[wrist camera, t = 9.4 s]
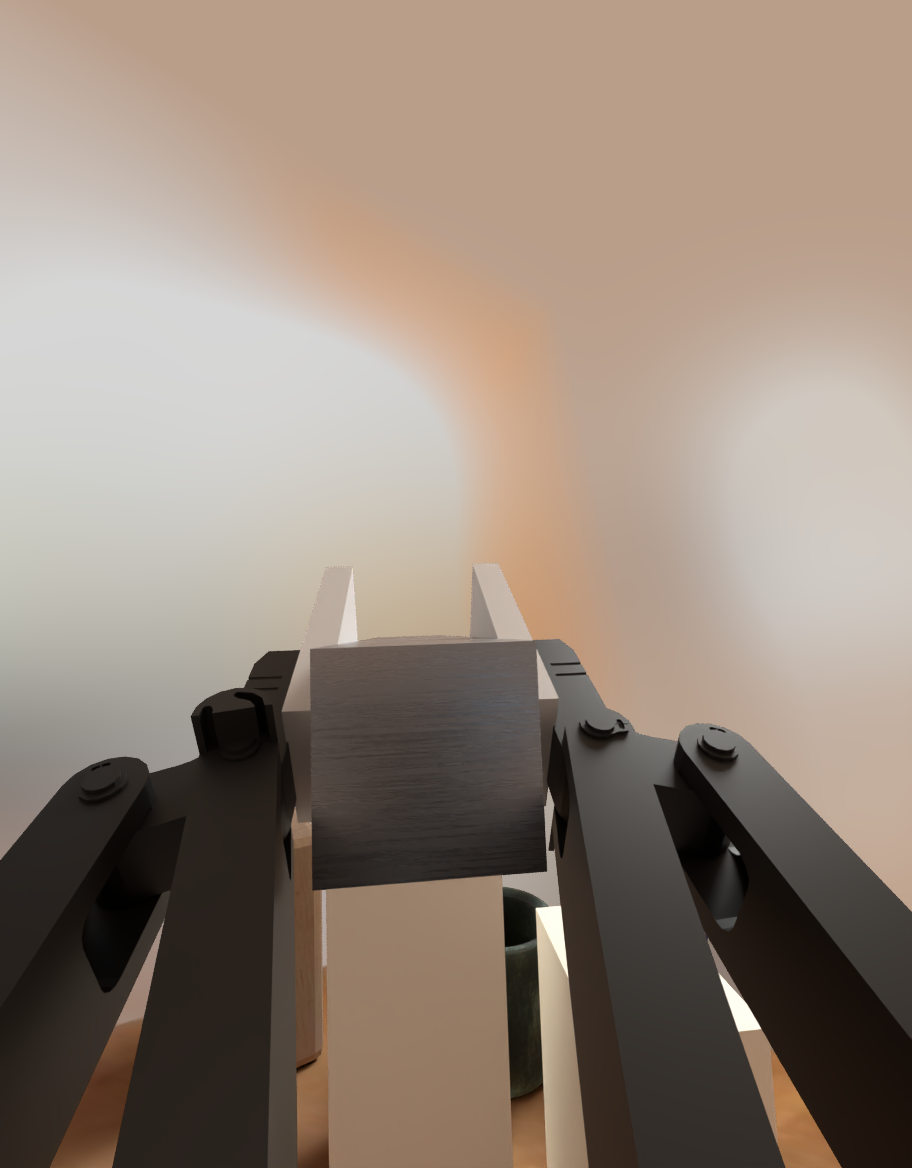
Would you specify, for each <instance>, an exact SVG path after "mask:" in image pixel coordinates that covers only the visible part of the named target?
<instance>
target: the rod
mask: <svg viewBox="0 0 912 1168" xmlns="http://www.w3.org/2000/svg"><path fill="white" fill-rule="evenodd" d="M310 710H311V809H312V891H315V890H327V889H339V888H351V887H364V886H376V885H388V884H400V883H412V882H425V881H437V880H449V879H461V878H473V877H486V876H498V875H510V874H522V873H534V872H546V871H547V859H546V840H545V839H546V838H545V818H544V796H543V775H542V755H541V734H540V713H539V692H538V671H537V650H536V641H535V640H516V639H497V638H479V637H461V636H443V635H438V636H410V637H383V638H374V639H367V640H361V641H355V642H349V643H343V644H337V645H331V646H325V647H319V648H313V649H310Z"/></svg>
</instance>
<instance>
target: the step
mask: <svg viewBox="0 0 912 1168" xmlns="http://www.w3.org/2000/svg"><path fill="white" fill-rule="evenodd" d="M536 926H537V949H538V972H539V995H540V1018H541V1040H542V1063H543V1086H544V1109H545V1132H546V1155H547V1168H589V1166H588V1157H587V1147H586V1138H585V1129H584V1119H583V1110H582V1100H581V1091H580V1082H579V1072H578V1063H577V1054H576V1044H575V1035H574V1025H573V1016H572V1007H571V997H570V988H569V979H568V969H567V960H566V950H565V941H564V932H563V922H562V913H561V906H556V907H543V908H536ZM718 974H719V973H718ZM719 976H720V974H719ZM720 979H721V982H722V985H723V988H724V991H725V994H726V997H727V1000H728V1003H729V1005H730V1008H731V1011H732V1014H733V1017H734V1020H735V1023H736V1026H737V1029H738V1032H739V1034H740V1037H741V1040H742V1043H743V1046H744V1049H745V1052H746V1055H747V1058H748V1061H749V1064H750V1066H751V1069H752V1072H753V1075H754V1078H755V1081H756V1084H757V1087H758V1090H759V1093H760V1095H761V1098H762V1101H763V1104H764V1107H765V1110H766V1113H767V1116H768V1119H769V1122H770V1124H771V1127H772V1130H773V1133H774V1136H775V1139H776V1142H777V1145H778V1139H777V1127H776V1114H775V1101H774V1089H773V1076H772V1063H771V1051H770V1043H769V1041H768V1040H767V1038H766V1036H765V1034H764V1033H763V1031H762V1029H761V1028H760V1026H759V1024H758V1022H757V1021H756V1019H755V1017H754V1016H753V1014H752V1012H751V1010H750V1009H749V1007H748V1005H747V1004H746V1003H745V1002H744V1001H743V1000H742V998H741V997H740V996H739V995H738V994H737V993H736V992H735V991H734V990H733V989H732V988H731V986H730V985H729V984H728V983H727V982H726V981H725V980H724V979H723V978H722V976H720Z"/></svg>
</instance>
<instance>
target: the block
mask: <svg viewBox="0 0 912 1168" xmlns="http://www.w3.org/2000/svg"><path fill="white" fill-rule="evenodd" d="M291 828H292V835H293V841H294V912H295V998H296V1068H297V1067H300V1066H302V1065H304V1064H306V1063H309V1062H311V1061H313V1060H315V1059H316V1058H317V1057H318V1056H319V1055H320V1054H321V1051H322V1046H323V985H322V890H315V891H312V825H311V824H310V823H309V822H306V823H298V821H297V814H296V809H294V814H293V818H292V823H291Z"/></svg>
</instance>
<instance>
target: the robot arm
mask: <svg viewBox="0 0 912 1168" xmlns="http://www.w3.org/2000/svg"><path fill="white" fill-rule="evenodd" d="M472 574H473V575H472V602H471V631H470V637H479V638H497V639H516V640H532V638H531V635H530V633H529V631H528V629H527V626H526V624H525V622H524V620H523V618H522V615H521V613H520V611H519V609H518V606H517V604H516V602H515V600H514V598H513V596H512V593H511V591H510V589H509V587H508V584H507V582H506V580H505V578H504V575H503V573H502V571H501V569H500V567H499V564H498V563H492V564H490V563H489V564H473V573H472ZM355 611H356V610H355V595H354V580H353V567H326V568H325V572H324V575H323V578H322V581H321V585H320V588H319V591H318V595H317V598H316V601H315V604H314V607H313V611H312V614H311V617H310V620H309V624H308V627H307V630H306V633H305V637H304V640H303V643H302V647H301V650H294V651H270V652H268V653H266V654H265V655H264V656H263V657H262V658H261V659H260V660H259V661H257V662H256V663H255V664H254V667H253V669H252V671H251V673H250V675H249V680H247V682H246V685H245V687H244V688H234V689H230V690H227V691H222V692H219V693H217V694H215V695H213V696H211V697H209V698H207V699H205V700H204V701H203V702H202V703H200V704H199V705H198V706H197V707H196V708H195V710H194V712H193V713H192V715H191V720H192V724H193V728H194V732H195V736H196V741H197V745H198V749H199V754H200V755H199V757H198V758H196V759H194V760H192V761H190V762H187V763H184V764H182V765H179V766H175V767H171V768H168V769H164V770H160V771H157V772H153V773H149V770H148V767H147V764H145V763H144V762H143V761H141V760H140V759H138V758H131V757H118V758H111V759H107V760H104V761H101V762H98V763H96V764H92V765H90V766H88V767H87V768H85V769H83V770H81V771H80V772H78V773H76V774H75V775H74V776H72V777H71V778H70V779H69V780H68V781H67V782H66V783H65V784H64V785H63V786H62V787H61V788H60V789H59V790H58V792H57V793H56V794H55V795H54V796H53V798H52V799H51V800H50V801H49V802H48V804H47V805H46V806H45V807H44V809H43V810H42V811H41V812H40V813H39V814H38V816H37V817H36V818H35V819H34V820H33V822H32V823H31V824H30V825H29V826H28V828H27V829H26V830H25V831H24V832H23V834H22V835H21V836H20V837H19V839H18V840H17V841H16V842H15V843H14V845H13V846H12V847H11V848H10V849H9V851H8V852H7V853H6V854H5V855H4V857H3V858H2V859H1V860H0V1168H49V1167H50V1165H51V1163H52V1161H53V1159H54V1156H55V1154H56V1152H57V1150H58V1148H59V1146H60V1143H61V1141H62V1139H63V1137H64V1135H65V1133H66V1130H67V1128H68V1126H69V1124H70V1122H71V1120H72V1117H73V1115H74V1113H75V1111H76V1109H77V1107H78V1105H79V1102H80V1100H81V1098H82V1096H83V1094H84V1092H85V1089H86V1087H87V1085H88V1083H89V1081H90V1079H91V1076H92V1074H93V1072H94V1070H95V1068H96V1066H97V1064H98V1061H99V1059H100V1057H101V1055H102V1053H103V1051H104V1048H105V1046H106V1044H107V1042H108V1040H109V1038H110V1035H111V1033H112V1031H113V1029H114V1027H115V1025H116V1022H117V1020H118V1018H119V1016H120V1014H121V1012H122V1009H123V1007H124V1005H125V1003H126V1001H127V999H128V997H129V994H130V992H131V990H132V988H133V986H134V984H135V981H136V979H137V977H138V975H139V973H140V971H141V968H142V966H143V964H144V962H145V960H146V958H147V955H148V953H149V951H150V949H151V946H152V945H153V943H154V940H155V938H156V936H157V934H158V932H159V930H160V927H161V925H162V923H163V921H164V925H163V930H162V934H161V939H160V944H159V949H158V953H157V958H156V963H155V968H154V972H153V977H152V982H151V987H150V992H149V996H148V1001H147V1006H146V1011H145V1015H144V1020H143V1024H142V1029H141V1034H140V1039H139V1043H138V1048H137V1053H136V1058H135V1062H134V1067H133V1072H132V1076H131V1081H130V1086H129V1091H128V1095H127V1100H126V1105H125V1110H124V1114H123V1119H122V1124H121V1129H120V1133H119V1138H118V1143H117V1148H116V1152H115V1157H114V1162H113V1166H112V1168H297V1085H296V998H295V912H294V841H293V835H292V828H291V823H292V818H293V814H294V809H295V807H296V814H297V821H298V823H306V822H312V809H311V710H310V649H313V648H319V647H325V646H331V645H337V644H343V643H349V642H355V641H358V639H357V625H356V612H355ZM535 641H536V650H537V671H538V692H539V713H540V734H541V755H542V775H543V796H544V806H546V800H547V792H548V787H549V790H550V793H551V796H552V799H553V801H554V813H553V820H552V827H551V835H550V843H549V851H554V848H555V857H556V866H557V875H558V885H559V894H560V903H561V913H562V922H563V932H564V941H565V950H566V960H567V969H568V979H569V988H570V997H571V1007H572V1016H573V1025H574V1035H575V1044H576V1054H577V1063H578V1072H579V1082H580V1091H581V1100H582V1110H583V1119H584V1129H585V1138H586V1147H587V1157H588V1166H589V1168H785V1165H784V1162H783V1159H782V1156H781V1154H780V1151H779V1148H778V1145H777V1142H776V1139H775V1136H774V1133H773V1130H772V1127H771V1124H770V1122H769V1119H768V1116H767V1113H766V1110H765V1107H764V1104H763V1101H762V1098H761V1095H760V1093H759V1090H758V1087H757V1084H756V1081H755V1078H754V1075H753V1072H752V1069H751V1066H750V1064H749V1061H748V1058H747V1055H746V1052H745V1049H744V1046H743V1043H742V1040H741V1037H740V1034H739V1032H738V1029H737V1026H736V1023H735V1020H734V1017H733V1014H732V1011H731V1008H730V1005H729V1003H728V1000H727V997H726V994H725V991H724V988H723V985H722V982H721V979H720V976H719V974H718V971H717V968H716V965H715V962H714V959H713V956H712V953H711V950H710V947H709V944H708V942H707V939H706V936H705V933H706V935H707V936H708V938H709V940H710V942H711V943H712V945H713V947H714V948H715V950H716V952H717V954H718V955H719V957H720V959H721V960H722V962H723V964H724V966H725V967H726V969H727V971H728V972H729V974H730V976H731V978H732V979H733V981H734V983H735V985H736V986H737V988H738V990H739V991H740V993H741V995H742V997H743V998H744V1000H745V1002H746V1003H747V1005H748V1007H749V1009H750V1010H751V1012H752V1014H753V1016H754V1017H755V1019H756V1021H757V1022H758V1024H759V1026H760V1028H761V1029H762V1031H763V1033H764V1034H765V1036H766V1038H767V1040H768V1041H769V1043H770V1045H771V1046H772V1048H773V1050H774V1052H775V1053H776V1055H777V1057H778V1059H779V1060H780V1062H781V1064H782V1065H783V1067H784V1069H785V1071H786V1072H787V1074H788V1076H789V1077H790V1079H791V1081H792V1083H793V1084H794V1086H795V1088H796V1090H797V1091H798V1093H799V1095H800V1096H801V1098H802V1100H803V1102H804V1103H805V1105H806V1107H807V1108H808V1110H809V1112H810V1114H811V1115H812V1117H813V1119H814V1120H815V1122H816V1124H817V1126H818V1127H819V1129H820V1131H821V1133H822V1134H823V1136H824V1138H825V1139H826V1141H827V1143H828V1145H829V1146H830V1148H831V1150H832V1151H833V1153H834V1155H835V1157H836V1158H837V1160H838V1162H839V1163H840V1165H841V1167H842V1168H912V912H911V911H910V910H909V909H908V907H907V906H906V905H904V903H903V902H902V901H901V900H900V899H899V898H898V897H897V896H896V895H895V894H894V893H893V892H892V891H891V890H890V889H889V888H888V887H887V886H886V885H885V884H884V883H883V882H882V880H881V879H879V877H878V876H877V875H876V874H875V873H874V872H873V871H872V870H871V869H870V868H869V867H868V866H867V865H866V864H865V863H864V862H863V861H862V860H861V859H860V858H859V857H858V856H857V855H856V854H855V853H854V852H853V850H852V849H851V848H850V847H849V846H848V845H847V844H846V843H845V842H844V841H843V840H842V839H841V838H840V837H839V836H838V835H837V834H836V833H835V832H834V831H833V830H832V828H830V826H828V824H826V822H825V821H824V820H823V819H822V818H821V817H820V816H819V815H818V814H817V813H816V812H815V811H814V810H813V809H812V808H811V807H810V806H809V805H808V803H806V801H805V800H804V799H803V798H802V797H801V796H800V795H799V794H798V793H797V792H796V791H795V790H794V789H793V788H792V787H791V786H790V785H789V784H788V783H787V782H786V781H785V780H784V779H783V778H782V776H780V774H778V772H777V771H776V770H775V769H774V768H773V767H772V766H771V765H770V764H769V763H768V762H767V761H766V760H765V759H764V758H763V757H762V756H761V755H760V754H759V753H758V752H757V750H755V749H754V747H753V746H752V745H751V744H750V743H748V742H747V741H746V740H745V739H744V738H742V737H741V736H740V735H738V734H737V733H734V732H732V731H730V730H728V729H726V728H724V727H720V726H716V725H712V724H698V723H697V724H693V725H689V726H686V727H685V728H684V729H683V730H682V731H681V732H680V735H679V739H678V741H672V740H667V739H661V738H655V737H650V736H646V735H642V734H639V733H636V732H635V730H634V729H633V726H632V725H631V723H630V722H629V721H628V720H627V719H626V718H624V717H623V716H622V715H621V714H619V713H617V712H615V711H612V710H610V709H608V708H606V707H605V705H604V703H603V701H602V699H601V698H600V696H599V694H598V692H597V691H596V689H595V687H594V685H593V683H592V682H591V680H590V678H589V676H588V675H586V671H585V670H584V668H583V666H582V665H581V664H580V661H579V659H578V657H577V655H576V654H575V652H574V650H573V649H572V648H570V647H569V646H568V645H566V644H565V643H564V642H562V641H561V640H559V639H553V640H535ZM164 919H165V920H164ZM703 929H704V930H703ZM704 931H705V933H704Z"/></svg>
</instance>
